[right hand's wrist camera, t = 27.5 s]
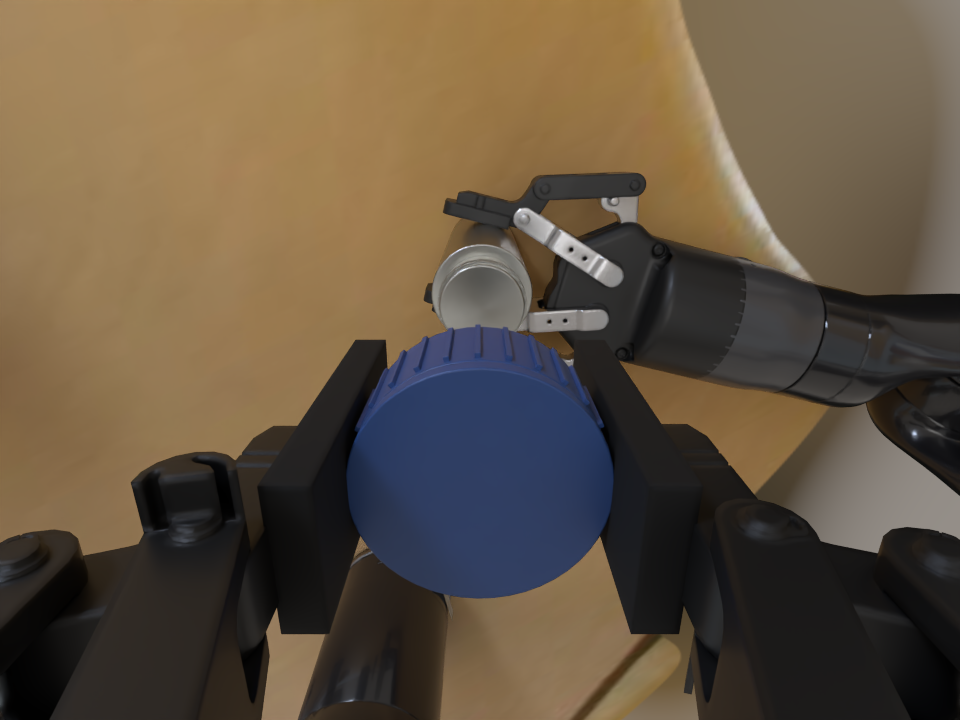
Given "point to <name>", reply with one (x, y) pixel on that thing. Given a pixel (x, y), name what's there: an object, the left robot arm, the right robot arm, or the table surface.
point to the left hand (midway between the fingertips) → (436, 250)
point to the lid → (480, 465)
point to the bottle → (481, 279)
